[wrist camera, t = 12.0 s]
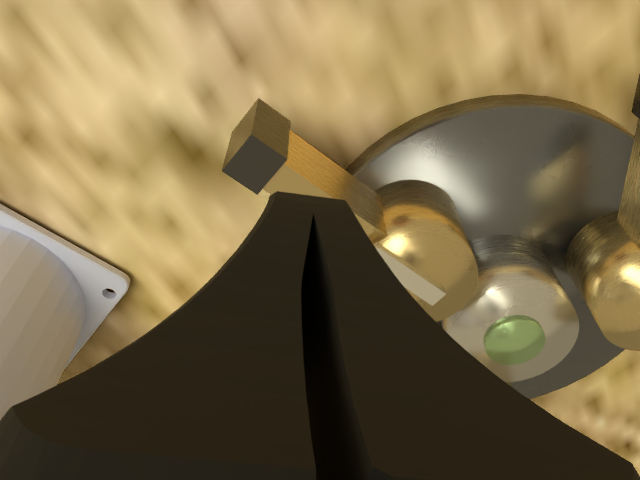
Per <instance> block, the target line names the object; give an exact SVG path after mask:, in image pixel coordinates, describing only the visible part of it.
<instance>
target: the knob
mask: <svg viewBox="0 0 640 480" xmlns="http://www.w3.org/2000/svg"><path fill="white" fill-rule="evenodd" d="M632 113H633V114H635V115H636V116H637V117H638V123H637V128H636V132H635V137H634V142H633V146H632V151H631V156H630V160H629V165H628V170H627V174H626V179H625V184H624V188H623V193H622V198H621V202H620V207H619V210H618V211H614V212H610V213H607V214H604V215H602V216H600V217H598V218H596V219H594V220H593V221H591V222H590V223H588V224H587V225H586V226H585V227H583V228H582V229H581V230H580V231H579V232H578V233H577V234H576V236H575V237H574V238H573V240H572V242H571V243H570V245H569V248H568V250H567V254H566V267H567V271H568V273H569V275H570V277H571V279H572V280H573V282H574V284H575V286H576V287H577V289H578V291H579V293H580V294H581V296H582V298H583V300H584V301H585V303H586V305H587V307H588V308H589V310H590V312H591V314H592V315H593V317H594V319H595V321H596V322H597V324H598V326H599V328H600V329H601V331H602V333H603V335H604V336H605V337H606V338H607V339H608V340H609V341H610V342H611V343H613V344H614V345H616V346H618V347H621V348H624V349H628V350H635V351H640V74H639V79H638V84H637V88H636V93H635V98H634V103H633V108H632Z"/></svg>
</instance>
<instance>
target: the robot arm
mask: <svg viewBox="0 0 640 480" xmlns="http://www.w3.org/2000/svg"><path fill="white" fill-rule="evenodd" d="M129 285H130V279H129V277H128V275H126V274H125V273H124V272H122V271H120V270H118V269H116V268H115V267H113V266H111V265H109V264H107V263H106V262H104V261H102V260H100V259H99V258H97V257H95V256H93V255H91V254H90V253H88V252H86V251H84V250H82V249H81V248H79V247H77V246H75V245H73V244H72V243H70V242H68V241H66V240H64V239H63V238H61V237H59V236H57V235H55V234H54V233H52V232H50V231H48V230H46V229H45V228H43V227H41V226H39V225H37V224H36V223H34V222H32V221H30V220H28V219H27V218H25V217H23V216H21V215H19V214H18V213H16V212H14V211H12V210H10V209H9V208H7V207H5V206H3V205H1V204H0V480H640V476H639V475H638V473H637V471H636V470H635V468H634V466H633V464H632V463H631V462H629V461H627V460H625V459H624V458H622V457H620V456H619V455H617V454H615V453H614V452H612V451H610V450H609V449H607V448H605V447H604V446H602V445H600V444H598V443H597V442H595V441H593V440H592V439H590V438H588V437H587V436H585V435H583V434H582V433H580V432H578V431H577V430H575V429H573V428H572V427H570V426H568V425H566V424H565V423H563V422H562V421H560V420H559V419H557V418H555V417H554V416H552V415H551V414H550V413H548V412H547V411H545V410H544V409H542V408H541V407H539V406H538V405H536V404H535V403H534V402H532V401H531V400H529V399H528V398H526V397H525V396H523V395H522V394H520V393H519V392H518V391H516V390H515V389H514V388H512V387H511V386H510V385H508V384H507V383H506V382H504V381H503V380H502V379H500V378H499V377H498V376H496V375H495V374H494V373H493V372H492V371H490V370H489V369H488V368H487V367H486V366H484V365H483V364H482V363H481V362H479V361H478V360H477V359H476V358H475V357H473V356H472V355H471V354H470V353H469V352H467V351H466V350H465V349H464V348H463V347H462V346H461V345H460V344H458V343H457V342H456V341H455V340H454V339H453V338H452V337H451V336H450V335H449V334H448V333H447V332H446V331H445V330H444V329H443V328H442V327H441V326H440V325H439V324H438V323H437V322H436V321H435V320H434V319H433V318H432V317H431V316H430V315H429V314H428V313H427V312H426V311H425V310H424V309H423V308H422V307H421V306H420V305H419V304H418V303H417V302H416V300H415V299H414V298H413V297H412V296H411V294H410V293H409V292H408V291H407V290H406V288H405V287H404V286H403V285H402V284H401V282H400V281H399V280H398V279H397V277H396V276H395V275H394V273H393V272H392V271H391V269H390V268H389V266H388V265H387V264H386V262H385V261H384V259H383V258H382V257H381V255H380V254H379V252H378V251H377V249H376V248H375V246H374V245H373V243H372V242H371V240H370V239H369V237H368V236H367V234H366V232H365V231H364V229H363V228H362V226H361V224H360V223H359V221H358V219H357V218H356V216H355V214H354V213H353V211H352V209H351V207H350V206H349V205H348V203H347V202H346V200H341V199H334V198H326V197H318V196H311V195H303V194H295V193H288V192H280V191H276V192H275V193H273V194H272V195H270V197H269V201H268V203H267V205H266V208H265V210H264V211H263V213H262V215H261V217H260V218H259V220H258V221H257V223H256V225H255V226H254V228H253V229H252V230H251V232H250V233H249V234H248V236H247V237H246V238H245V240H244V241H243V243H242V244H241V245H240V247H239V248H238V249H237V250H236V252H235V253H234V254H233V255H232V256H231V257H230V258H229V260H228V261H227V262H226V263H225V264H224V265H223V266H222V267H221V269H220V270H219V271H218V272H217V273H216V274H215V275H214V276H213V277H212V278H211V279H210V280H209V281H208V282H207V283H206V284H205V285H204V286H203V287H202V288H201V289H200V290H199V291H198V292H197V293H196V294H195V295H194V296H193V297H191V298H190V299H189V300H188V301H187V302H186V303H185V304H184V305H182V306H181V307H180V308H179V309H178V310H176V311H175V312H174V313H172V314H171V315H170V316H169V317H167V318H166V319H165V320H163V321H162V322H161V323H160V324H158V325H157V326H156V327H154V328H153V329H152V330H150V331H149V332H148V333H146V334H145V335H143V336H142V337H140V338H139V339H137V340H136V341H134V342H133V343H131V344H130V345H128V346H126V347H125V348H123V349H122V350H120V351H118V352H117V353H115V354H113V355H112V356H110V357H109V358H107V359H105V360H104V361H102V362H101V363H99V364H97V365H96V366H94V367H92V368H90V369H89V370H87V371H85V372H83V373H81V374H79V375H77V376H75V377H73V378H71V379H69V380H67V381H65V382H63V383H61V384H58V381H59V379H60V377H61V375H62V373H63V371H64V369H65V368H66V367H67V366H68V364H69V363H70V362H71V361H72V359H73V358H74V357H75V356H76V354H77V353H78V352H79V351H80V349H81V348H82V347H83V346H84V344H85V343H86V342H87V341H88V339H89V338H90V337H91V336H92V334H93V333H94V332H95V331H96V329H97V328H98V327H99V326H100V324H101V323H102V322H103V321H104V319H105V318H106V317H107V316H108V314H109V313H110V312H111V311H112V309H113V308H114V307H115V306H116V304H117V303H118V302H119V301H120V299H121V298H122V297H123V296H124V294H125V293H126V292H127V290H128V288H129ZM108 288H109V289H112V290H113V291H115V292H114V293H112V292H108V291H107V290H106V289H108ZM57 384H58V385H57Z"/></svg>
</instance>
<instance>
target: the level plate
mask: <svg viewBox="0 0 640 480" xmlns="http://www.w3.org/2000/svg"><path fill="white" fill-rule="evenodd" d="M633 142H634V136H632V135H631V134H630V133H629V132H628V131H626V130H625V129H624V128H623V127H621V126H620V125H619V124H618V123H616V122H615V121H613V120H611V119H609V118H608V117H606V116H604V115H602V114H600V113H599V112H597V111H595V110H592V109H589V108H587V107H584V106H581V105H579V104H576V103H574V102H570V101H565V100H561V99H556V98H551V97H546V96H534V95H522V94H517V95H495V96H487V97H481V98H475V99H469V100H464V101H461V102H457V103H454V104H451V105H447V106H444V107H440V108H437V109H435V110H433V111H430V112H428V113H425V114H423V115H421V116H418V117H416V118H414V119H412V120H410V121H408V122H406V123H405V124H403V125H401V126H399V127H398V128H396V129H394V130H392V131H391V132H389V133H388V134H386V135H385V136H384V137H382V138H381V139H379V140H378V141H377V142H375V143H374V144H373V145H371V146H370V147H369V148H367V149H366V150H365V151H364V152H363V153H362V154H361V155H360V156H359V157H358V158H357V159H356V160H355V161H354V162H353V163H352V164H351V165H350V166H349V167H348V168H347V169H346V171H347V172H348V173H350V174H351V175H352V176H354V177H355V178H356V179H358V180H359V181H361V182H362V183H363V184H365V185H366V186H367V187H369V188H370V189H372V190H373V191H376V190H377V189H379V188H381V187H382V186H384V185H387V184H389V183H392V182H396V181H401V180H420V181H425V182H428V183H431V184H434V185H436V186H438V187H439V188H441V189H442V190H444V191H445V192H446V193H447V194H448V195H449V196H450V198H451V199H452V201H453V202H454V204H455V207H456V209H457V212H458V215H459V217H460V220H461V223H462V225H463V228H464V231H465V233H466V236H467V239H468V242H469V244H470V247H471V250H472V252H473V255H474V258H475V260H476V263H477V267H478V282H477V286H476V289H475V291H474V293H473V295H472V296H471V298H470V300H469V301H468V302H467V303H466V304H465V305H464V306H463V307H462V308H461V309H460V310H459V311H457V312H456V313H454V314H453V315H451V316H449V317H447V318H445V319H443V320H441V321H438V322H437V323H438V324H439V325H440V326H441V327H442V328H443V329H444V330H445V331H446V332H447V333H448V334H449V335H450V336H451V337H452V338H453V339H454V340H455V341H456V342H457V343H458V344H460V345H461V346H462V347H463V348H464V349H465V350H466V351H467V352H469V353H470V354H471V355H472V356H473V357H475V358H476V359H477V360H478V361H479V362H481V363H482V364H483V365H484V366H486V367H487V368H488V369H489V370H490V371H492V372H493V373H494V374H495V375H496V376H498V377H499V378H500V379H502V380H503V381H504V382H506V383H509V382H511V385H512V388H514V389H515V390H516V391H518V392H519V393H520V394H522V395H523V396H525V397H526V398H528V399H531V398H534V397H538V396H541V395H544V394H547V393H550V392H552V391H555V390H558V389H560V388H563V387H565V386H568V385H570V384H572V383H574V382H576V381H578V380H580V379H582V378H584V377H586V376H587V375H589V374H591V373H592V372H594V371H595V370H597V369H599V368H600V367H602V366H604V365H605V364H606V363H608V362H609V361H610V360H612V359H613V358H614V357H616V356H617V355H618V354H620V353H621V352H622V351H623V350H625V349H624V348H621V347H618V346H616V345H614V344H613V343H611V342H610V341H609V340H608V339H607V338H606V337H605V336H604V335H603V333H602V331H601V329H600V328H599V326H598V324H597V322H596V321H595V319H594V317H593V315H592V314H591V312H590V310H589V308H588V307H587V305H586V303H585V301H584V300H583V298H582V296H581V294H580V293H579V291H578V289H577V287H576V286H575V284H574V282H573V280H572V279H571V277H570V275H569V273H568V271H567V267H566V254H567V250H568V248H569V245H570V243H571V242H572V240H573V238H574V237H575V236H576V234H577V233H578V232H579V231H580V230H581V229H582V228H583V227H585V226H586V225H587V224H588V223H590V222H591V221H593V220H594V219H596V218H598V217H600V216H602V215H604V214H607V213H610V212H614V211H618V210H619V207H620V202H621V198H622V193H623V188H624V184H625V179H626V174H627V170H628V165H629V160H630V156H631V151H632V146H633Z"/></svg>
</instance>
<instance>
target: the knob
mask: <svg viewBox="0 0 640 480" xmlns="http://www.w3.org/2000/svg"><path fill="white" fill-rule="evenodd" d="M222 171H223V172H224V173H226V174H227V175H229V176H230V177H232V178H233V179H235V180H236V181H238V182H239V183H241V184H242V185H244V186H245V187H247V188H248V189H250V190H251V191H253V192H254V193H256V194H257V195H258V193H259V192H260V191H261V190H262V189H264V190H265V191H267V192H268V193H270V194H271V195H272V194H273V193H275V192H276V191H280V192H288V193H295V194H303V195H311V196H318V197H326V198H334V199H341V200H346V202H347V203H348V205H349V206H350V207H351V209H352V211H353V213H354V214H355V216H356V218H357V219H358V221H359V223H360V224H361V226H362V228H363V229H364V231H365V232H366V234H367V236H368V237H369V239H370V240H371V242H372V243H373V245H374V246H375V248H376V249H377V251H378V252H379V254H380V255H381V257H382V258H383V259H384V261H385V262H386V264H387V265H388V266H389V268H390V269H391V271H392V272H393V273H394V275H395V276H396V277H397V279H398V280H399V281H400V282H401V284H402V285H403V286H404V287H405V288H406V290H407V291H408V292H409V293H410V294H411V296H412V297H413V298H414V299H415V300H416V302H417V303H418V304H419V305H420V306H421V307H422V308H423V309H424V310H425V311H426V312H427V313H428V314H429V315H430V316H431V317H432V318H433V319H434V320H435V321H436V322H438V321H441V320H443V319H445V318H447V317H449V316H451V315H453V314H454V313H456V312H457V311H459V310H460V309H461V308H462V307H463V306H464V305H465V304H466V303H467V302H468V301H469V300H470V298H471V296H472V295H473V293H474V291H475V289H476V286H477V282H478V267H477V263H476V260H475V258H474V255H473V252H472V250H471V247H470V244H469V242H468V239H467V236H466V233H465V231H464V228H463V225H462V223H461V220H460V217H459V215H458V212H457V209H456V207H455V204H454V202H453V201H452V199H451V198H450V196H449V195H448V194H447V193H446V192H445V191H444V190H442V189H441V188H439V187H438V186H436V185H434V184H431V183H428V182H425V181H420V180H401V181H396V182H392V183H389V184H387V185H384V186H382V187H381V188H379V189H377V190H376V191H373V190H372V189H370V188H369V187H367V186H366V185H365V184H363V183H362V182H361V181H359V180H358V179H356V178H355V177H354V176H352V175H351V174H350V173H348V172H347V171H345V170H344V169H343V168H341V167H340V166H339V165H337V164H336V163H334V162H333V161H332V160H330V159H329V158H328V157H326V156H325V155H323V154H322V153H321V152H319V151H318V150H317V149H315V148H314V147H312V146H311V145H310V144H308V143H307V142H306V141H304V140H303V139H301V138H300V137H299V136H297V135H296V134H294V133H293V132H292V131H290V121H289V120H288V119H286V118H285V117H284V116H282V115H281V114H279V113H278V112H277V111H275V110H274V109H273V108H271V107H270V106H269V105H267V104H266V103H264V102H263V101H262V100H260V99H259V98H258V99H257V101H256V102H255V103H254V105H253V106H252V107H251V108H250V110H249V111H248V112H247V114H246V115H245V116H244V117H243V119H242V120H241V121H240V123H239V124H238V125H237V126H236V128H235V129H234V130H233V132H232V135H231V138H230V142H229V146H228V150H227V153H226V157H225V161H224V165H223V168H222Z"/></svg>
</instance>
